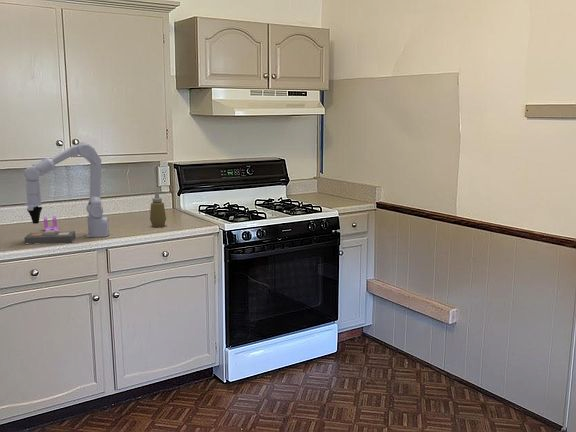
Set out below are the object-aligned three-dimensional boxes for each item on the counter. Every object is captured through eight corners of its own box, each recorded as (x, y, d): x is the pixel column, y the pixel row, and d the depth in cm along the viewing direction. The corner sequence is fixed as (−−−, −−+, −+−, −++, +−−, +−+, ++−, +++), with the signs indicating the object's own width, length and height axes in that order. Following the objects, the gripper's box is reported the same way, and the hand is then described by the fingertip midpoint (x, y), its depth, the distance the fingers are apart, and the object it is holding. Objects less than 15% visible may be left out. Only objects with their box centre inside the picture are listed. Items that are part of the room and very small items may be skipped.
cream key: (70, 238, 275) (69, 232, 275) (68, 240, 271) (67, 234, 270) (60, 239, 275) (60, 232, 274) (58, 241, 270) (57, 234, 270)
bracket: (44, 230, 296) (43, 216, 294) (56, 229, 298) (55, 215, 297) (47, 235, 284) (46, 221, 283) (59, 234, 287) (58, 219, 285)
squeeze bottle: (162, 228, 299) (161, 192, 295) (147, 227, 300) (145, 192, 297) (168, 224, 306) (167, 190, 303) (154, 224, 308) (152, 190, 305)
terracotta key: (43, 239, 273) (42, 233, 273) (40, 241, 269) (40, 235, 269) (33, 239, 273) (32, 233, 272) (30, 242, 269) (30, 235, 268)
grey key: (56, 236, 274) (56, 230, 274) (54, 238, 270) (54, 232, 269) (46, 236, 273) (46, 230, 273) (44, 238, 269) (43, 232, 269)
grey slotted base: (75, 237, 278) (75, 231, 278) (71, 242, 269) (70, 236, 268) (30, 239, 275) (30, 232, 275) (24, 244, 266) (24, 237, 265)
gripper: (28, 191, 273) (30, 220, 276) (19, 196, 259) (22, 226, 262) (44, 191, 275) (46, 219, 277) (36, 196, 260) (39, 226, 263)
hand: (36, 223), depth 270 cm, fingers closed
